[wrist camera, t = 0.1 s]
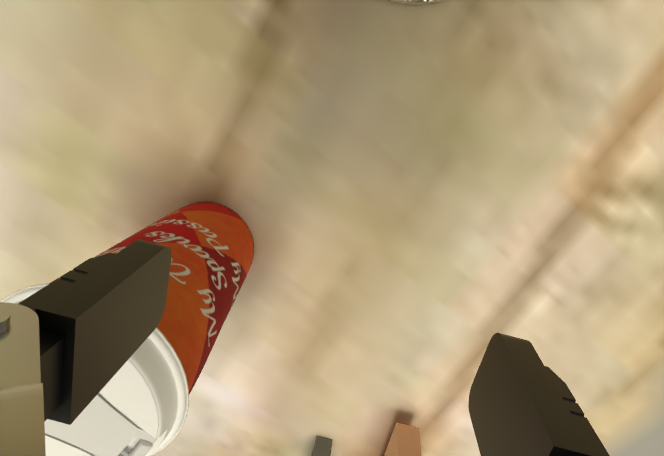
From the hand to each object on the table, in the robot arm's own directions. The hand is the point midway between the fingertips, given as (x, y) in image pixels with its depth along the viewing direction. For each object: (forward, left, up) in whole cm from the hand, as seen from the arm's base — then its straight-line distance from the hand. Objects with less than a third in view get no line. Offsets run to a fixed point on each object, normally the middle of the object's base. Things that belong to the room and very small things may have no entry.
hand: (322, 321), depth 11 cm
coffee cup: (+8, -8, -18) cm, 21 cm away
